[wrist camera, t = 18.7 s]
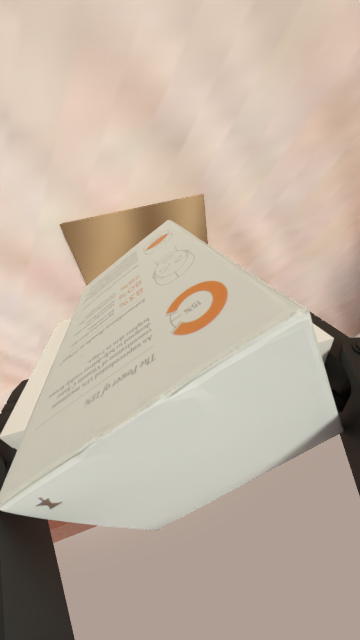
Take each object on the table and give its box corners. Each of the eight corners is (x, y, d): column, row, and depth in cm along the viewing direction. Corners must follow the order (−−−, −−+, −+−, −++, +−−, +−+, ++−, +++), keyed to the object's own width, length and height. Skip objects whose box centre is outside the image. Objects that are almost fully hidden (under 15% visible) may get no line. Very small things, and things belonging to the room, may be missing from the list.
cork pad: (201, 194, 16) (203, 194, 16) (211, 310, 22) (213, 312, 22) (61, 223, 15) (59, 224, 15) (112, 336, 22) (112, 339, 21)
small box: (139, 336, 19) (155, 536, 8) (83, 286, 15) (-25, 518, 4) (213, 283, 17) (352, 435, 7) (170, 215, 14) (314, 302, 3)
